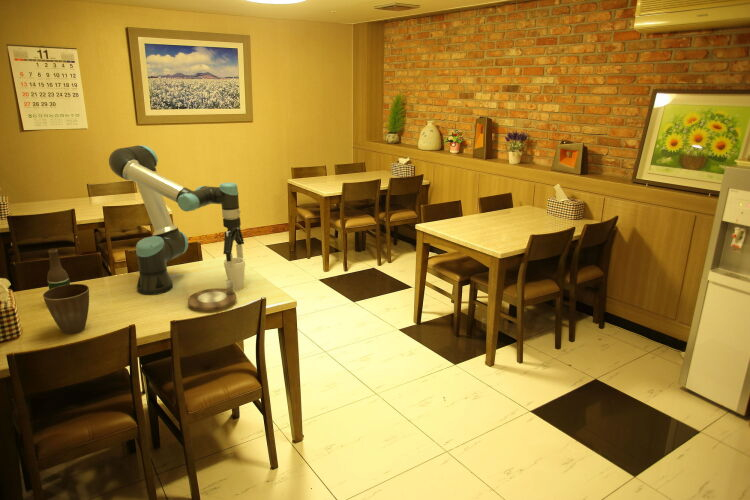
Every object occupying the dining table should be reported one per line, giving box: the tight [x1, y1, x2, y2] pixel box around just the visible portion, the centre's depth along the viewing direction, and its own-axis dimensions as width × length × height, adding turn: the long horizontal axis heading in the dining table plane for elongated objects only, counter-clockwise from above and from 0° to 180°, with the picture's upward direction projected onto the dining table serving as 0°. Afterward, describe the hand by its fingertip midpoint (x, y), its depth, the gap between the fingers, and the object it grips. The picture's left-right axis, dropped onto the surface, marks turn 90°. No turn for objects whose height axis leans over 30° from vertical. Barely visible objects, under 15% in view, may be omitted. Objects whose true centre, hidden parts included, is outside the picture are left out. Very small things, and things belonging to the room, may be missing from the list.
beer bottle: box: [46, 248, 71, 290], centre depth 215 cm, size 8×8×24 cm
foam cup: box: [223, 257, 246, 291], centre depth 237 cm, size 10×9×13 cm
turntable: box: [187, 279, 237, 311], centre depth 219 cm, size 20×20×8 cm
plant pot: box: [42, 283, 90, 335], centre depth 193 cm, size 15×15×16 cm
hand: (235, 262), depth 235 cm, fingers open, 13 cm apart
